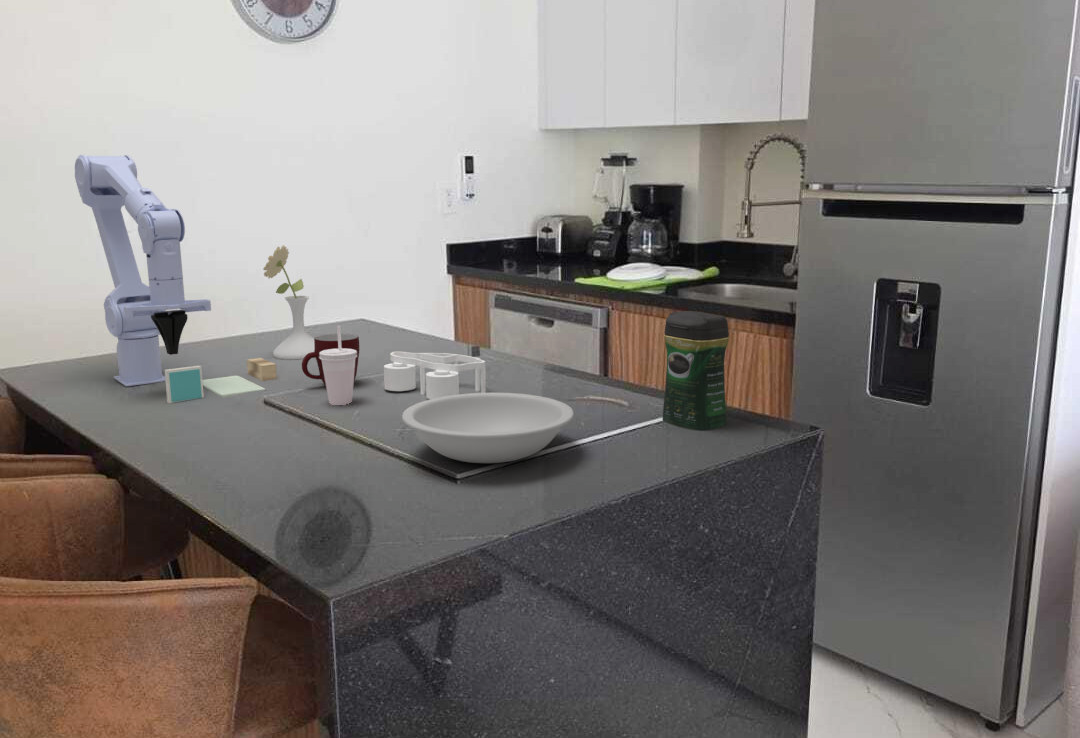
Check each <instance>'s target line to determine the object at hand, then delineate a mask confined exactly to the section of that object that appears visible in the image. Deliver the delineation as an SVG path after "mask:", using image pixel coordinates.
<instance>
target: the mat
mask: <svg viewBox="0 0 1080 738" xmlns="http://www.w3.org/2000/svg"><path fill="white" fill-rule="evenodd" d="M202 381H203V386H204V387H203V388H205V389H207V390H208V391H210V392H212V393H213V394H216V396H219V397H220V398H229V397H233V396H238V395H240V396H241V395H244V394H249V393H250V394H251V393H255V392H262V391H266V388H265V387H262V386H260V385H258V384H256V383H254V382H252V381H250V380H247V379H246V378H244V377H242V376H239V375H238V374H237V375H229V376H223V377H222V376H221V377H215V378H208V379H202Z"/></svg>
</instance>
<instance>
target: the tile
mask: <svg viewBox="0 0 1080 738" xmlns="http://www.w3.org/2000/svg"><path fill="white" fill-rule="evenodd" d="M202 369H203V368H202V366H201V365H193V366H185V367H178V368H177V367H176V368H168V369H164V376H165V389H166V401H167V403H168V404H169V405H170V404H175V403H179V402H186V400H187V401H193V400H197V399H202V398H204V397H205V395H204V387H203V381H202V380H203V371H202Z"/></svg>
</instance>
